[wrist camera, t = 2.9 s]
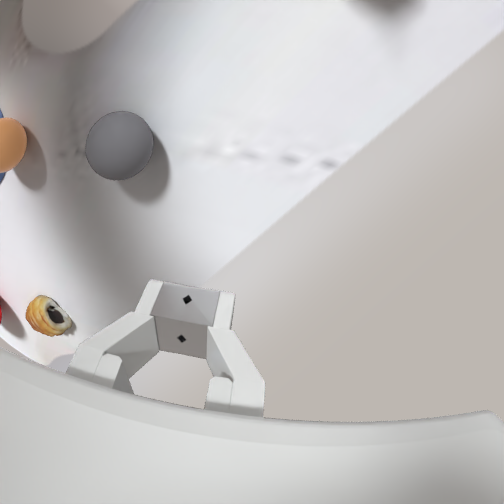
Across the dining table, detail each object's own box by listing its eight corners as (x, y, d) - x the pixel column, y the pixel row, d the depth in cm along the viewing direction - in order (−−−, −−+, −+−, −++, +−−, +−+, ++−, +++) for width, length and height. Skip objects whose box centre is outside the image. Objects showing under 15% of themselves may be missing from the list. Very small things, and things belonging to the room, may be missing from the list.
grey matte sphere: (105, 104, 23) (69, 121, 18) (163, 105, 23) (136, 122, 18) (107, 162, 26) (76, 189, 22) (162, 167, 26) (138, 195, 22)
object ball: (0, 113, 23) (-35, 130, 18) (34, 108, 23) (-3, 126, 18) (6, 159, 26) (-26, 181, 21) (39, 159, 26) (6, 183, 21)
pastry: (48, 330, 44) (39, 347, 41) (22, 302, 41) (10, 318, 38) (77, 320, 41) (66, 339, 38) (47, 288, 38) (34, 306, 35)
